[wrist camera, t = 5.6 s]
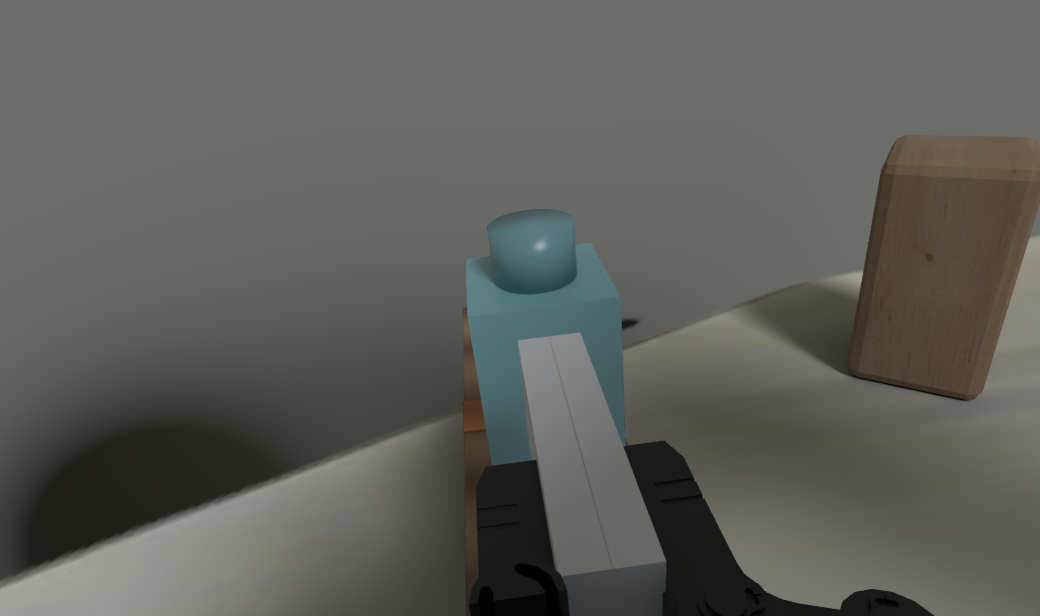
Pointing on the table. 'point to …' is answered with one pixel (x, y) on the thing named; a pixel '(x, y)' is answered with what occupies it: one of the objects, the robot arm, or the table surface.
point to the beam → (473, 456)
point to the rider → (538, 317)
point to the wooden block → (943, 260)
